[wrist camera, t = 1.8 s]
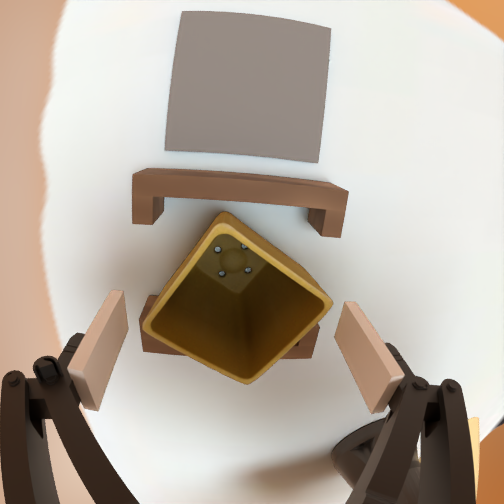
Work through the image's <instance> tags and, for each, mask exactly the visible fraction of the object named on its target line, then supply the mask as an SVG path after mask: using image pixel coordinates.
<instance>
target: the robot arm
mask: <svg viewBox="0 0 504 504" xmlns="http://www.w3.org/2000/svg"><path fill="white" fill-rule="evenodd" d="M127 332H128V322H127V315H126V308H125V300H124V292H123V291H117V290H111V291H110V293H109V295H108V296H107V298H106V300H105V301H104V303H103V305H102V306H101V308H100V310H99V311H98V313H97V315H96V316H95V318H94V320H93V322H92V323H91V325H90V327H89V329H88V330H87V332H86V334H82V333H76V334H75V335H73V336H72V337H71V338H70V339H69V341H68V343H67V344H66V346H65V348H64V349H63V351H62V353H61V355H60V356H59V358H58V360H57V359H56V358H54V357H53V356H44V357H41V358H39V359H37V360H36V361H35V362H34V365H33V371H34V373H35V375H36V377H37V378H28V379H27V378H25V376H24V374H23V373H22V372H20V371H15V370H14V371H10V372H8V373H7V374H6V375H5V376H4V377H3V380H2V389H1V403H0V456H1V471H2V481H3V489H4V496H5V503H6V504H60V502H59V498H58V495H57V490H56V486H55V481H54V477H53V472H52V467H51V461H50V455H49V449H48V442H47V434H46V426H45V419H52V420H53V422H54V424H55V427H56V429H57V431H58V434H59V436H60V438H61V440H62V443H63V445H64V447H65V449H66V451H67V453H68V455H69V457H70V459H71V461H72V463H73V465H74V467H75V469H76V471H77V473H78V475H79V476H80V478H81V480H82V482H83V483H84V485H85V487H86V489H87V490H88V492H89V494H90V495H91V497H92V498H93V500H94V502H95V503H96V504H140V503H139V502H138V501H137V500H136V498H135V497H134V496H133V494H132V493H131V492H130V490H129V489H128V488H127V486H126V485H125V484H124V482H123V481H122V479H121V478H120V476H119V475H118V474H117V472H116V471H115V469H114V468H113V466H112V465H111V463H110V461H109V460H108V458H107V457H106V455H105V454H104V452H103V450H102V449H101V447H100V445H99V444H98V442H97V440H96V439H95V437H94V435H93V433H92V432H91V430H90V428H89V426H88V424H87V422H86V420H85V419H84V417H83V415H82V413H81V411H80V409H79V404H80V402H81V403H82V405H83V407H84V408H85V409H89V410H94V411H99V408H100V405H101V402H102V399H103V396H104V393H105V390H106V387H107V384H108V382H109V379H110V376H111V373H112V371H113V368H114V365H115V363H116V360H117V357H118V355H119V352H120V350H121V347H122V344H123V342H124V339H125V337H126V334H127ZM334 338H335V340H336V342H337V344H338V346H339V348H340V350H341V352H342V354H343V356H344V358H345V360H346V362H347V364H348V366H349V369H350V371H351V373H352V375H353V377H354V379H355V381H356V383H357V385H358V387H359V390H360V392H361V394H362V396H363V398H364V400H365V402H366V404H367V407H368V409H369V411H370V413H371V414H374V413H379V412H384V410H385V408H386V407H387V405H389V407H390V409H391V410H390V411H389V413H388V415H387V416H386V418H385V419H382V420H379V421H377V422H374V423H372V424H369V425H367V426H365V427H363V428H361V429H359V430H357V431H355V432H354V433H352V434H351V435H349V436H348V437H346V438H345V439H343V440H342V441H341V442H340V443H339V444H338V445H337V446H336V447H335V448H334V450H333V452H332V455H331V457H332V460H333V464H334V467H335V468H336V470H337V471H338V472H339V473H340V475H341V476H342V477H343V478H344V479H345V481H346V482H347V483H348V484H349V485H350V486H351V488H352V489H353V491H352V493H351V495H350V497H349V498H348V500H347V502H346V504H476V491H475V473H474V462H473V452H472V444H471V437H470V430H469V424H468V418H467V412H466V407H465V402H464V397H463V393H462V388H461V386H460V384H459V383H458V382H456V381H455V380H452V379H445V380H444V381H443V382H442V383H441V385H440V386H437V385H429V383H428V382H427V381H426V380H425V379H423V378H422V377H418V376H415V375H414V374H413V372H412V371H411V369H410V368H409V366H408V365H407V364H406V362H405V361H404V360H403V358H402V356H400V353H399V352H398V350H397V349H396V348H395V347H394V346H393V345H391V344H390V343H384V342H383V341H382V339H381V338H380V336H379V335H378V333H377V332H376V330H375V329H374V327H373V326H372V324H371V323H370V322H369V320H368V319H367V317H366V316H365V314H364V313H363V311H362V310H361V309H360V307H359V306H358V304H357V303H356V302H344V306H343V309H342V313H341V316H340V320H339V323H338V326H337V329H336V333H335V336H334ZM420 431H421V461H420V462H419V459H418V453H417V442H418V438H419V435H420Z"/></svg>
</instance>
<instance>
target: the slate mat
mask: <svg viewBox="0 0 504 504" xmlns="http://www.w3.org/2000/svg"><path fill="white" fill-rule="evenodd" d="M330 38H331V28H328V27H323V26H319V25H315V24H310V23H305V22H300V21H295V20H289V19H284V18H277V17H270V16H263V15H254V14H245V13H232V12H214V11H182V15H181V20H180V26H179V32H178V38H177V44H176V50H175V57H174V64H173V71H172V79H171V87H170V96H169V105H168V116H167V127H166V140H165V150H169V151H196V152H214V153H229V154H241V155H252V156H263V157H272V158H281V159H289V160H297V161H305V162H312V163H318V160H319V152H320V144H321V136H322V127H323V118H324V109H325V99H326V89H327V78H328V66H329V53H330Z"/></svg>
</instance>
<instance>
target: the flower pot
mask: <svg viewBox="0 0 504 504" xmlns="http://www.w3.org/2000/svg"><path fill="white" fill-rule="evenodd" d="M242 244H244V245H245V246H247V247H248V248H247V249H243V248H242ZM215 247H220V248H221V252H219V253H217V252H216V251H215ZM248 267H249V268H251V272H250V273H246V272H245V269H246V268H248ZM220 271H224V272H225V275H224V276H220V275H219V272H220ZM332 305H333V301H332V300H331V298H330V297H329V296H328V295H327V294H326V293H325V292H324V290H323V289H322V288H321V287H320V286H319V285H318V283H317V282H316V281H315V280H314V279H313V278H312V277H311V275H310V274H309V273H308V272H307V271H306V270H305V269H304V268H303V267H302V266H301V265H299V264H298V263H297V262H295V261H294V260H293V259H291V258H290V257H288V256H287V255H286V254H284V253H283V252H282V251H280V250H279V249H277V248H276V247H275V246H273V245H272V244H271V243H269V242H268V241H267V240H265V239H264V238H262V237H261V236H260V235H258V234H257V233H256V232H254V231H253V230H252V229H251V228H249V227H248V226H247V225H245V224H244V223H243V222H241V221H240V220H239V219H237V218H236V217H235V216H234V215H232V214H231V213H229V212H226V211H225V212H222V213H220V214H219V215H218V216H217V217H216V218H215V220H214V221H213V222H212V224H211V225H210V227H209V228H208V229H207V231H206V232H205V233H204V235H203V236H202V237H201V239H200V240H199V242H198V243H197V244H196V246H195V247H194V248H193V250H192V251H191V252H190V254H189V255H188V256H187V258H186V259H185V260H184V262H183V263H182V264H181V266H180V267H179V268H178V269H177V271H176V272H175V273H174V275H173V276H172V277H171V279H170V280H169V281H168V283H167V284H166V285H165V287H164V288H163V290H162V291H161V293H160V295H159V297H158V298H157V300H156V302H155V303H154V305H153V307H152V308H151V310H150V312H149V314H148V315H147V317H146V319H145V320H144V322H143V325H142V329H143V330H144V331H145V332H146V333H148V334H149V335H151V336H152V337H154V338H156V339H157V340H159V341H161V342H163V343H165V344H166V345H168V346H170V347H172V348H174V349H176V350H177V351H179V352H181V353H183V354H185V355H187V356H188V357H190V358H192V359H194V360H196V361H198V362H200V363H202V364H204V365H206V366H207V367H209V368H212V369H214V370H216V371H218V372H219V373H221V374H223V375H225V376H227V377H230V378H232V379H234V380H236V381H238V382H241V383H243V384H246V385H248V384H250V383H252V382H253V381H255V380H256V379H258V378H259V377H260V376H261V375H262V374H263V373H265V372H266V371H267V370H268V369H269V368H270V367H271V366H272V365H273V364H275V363H276V362H277V361H278V360H279V359H280V358H281V357H282V356H283V355H285V354H286V353H287V352H288V351H289V350H290V349H291V348H292V347H293V346H294V345H295V344H296V343H297V342H298V341H299V340H300V339H301V338H302V337H304V336H305V335H306V334H307V333H308V331H310V330H311V329H312V328H313V327H314V326H315V325H316V324H317V323H318V322H319V321H320V320H321V319H322V318H323V317H324V316H325V315H326V313H327V312H328V311H329V310H330V308H331V307H332Z"/></svg>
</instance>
